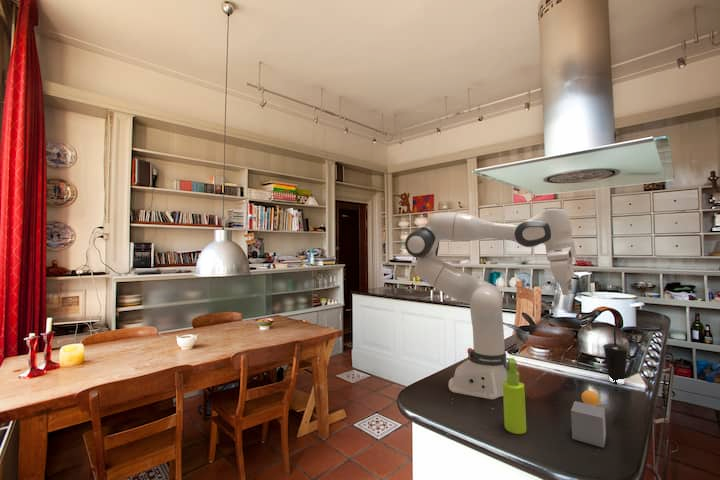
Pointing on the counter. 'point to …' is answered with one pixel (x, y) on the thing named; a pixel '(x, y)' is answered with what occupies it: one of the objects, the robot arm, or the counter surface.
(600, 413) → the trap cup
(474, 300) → the robot arm
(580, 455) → the counter surface
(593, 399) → the ball
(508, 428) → the soap dispenser
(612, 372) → the drinking cup
